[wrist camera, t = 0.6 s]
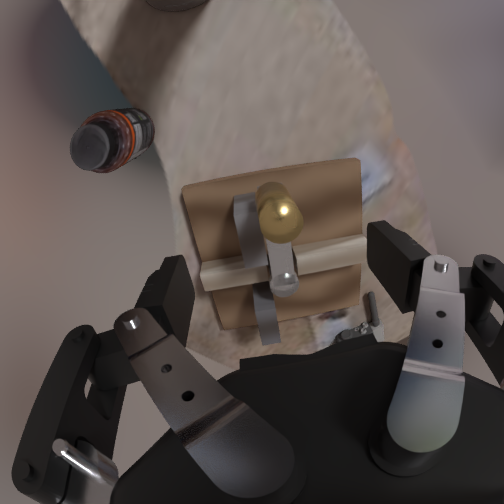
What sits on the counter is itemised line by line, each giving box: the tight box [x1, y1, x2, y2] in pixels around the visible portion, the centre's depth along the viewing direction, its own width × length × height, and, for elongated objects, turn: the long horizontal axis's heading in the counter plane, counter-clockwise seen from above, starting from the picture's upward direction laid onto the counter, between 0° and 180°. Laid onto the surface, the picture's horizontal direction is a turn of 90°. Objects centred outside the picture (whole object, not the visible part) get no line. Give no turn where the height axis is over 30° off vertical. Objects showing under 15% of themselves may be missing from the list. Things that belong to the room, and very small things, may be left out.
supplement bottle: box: [70, 108, 155, 173], centre depth 24 cm, size 6×6×11 cm
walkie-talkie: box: [336, 292, 384, 343], centre depth 45 cm, size 9×4×20 cm
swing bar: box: [255, 182, 304, 297], centre depth 26 cm, size 13×3×7 cm, turn 10°
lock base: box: [181, 158, 367, 345], centre depth 34 cm, size 22×21×8 cm
